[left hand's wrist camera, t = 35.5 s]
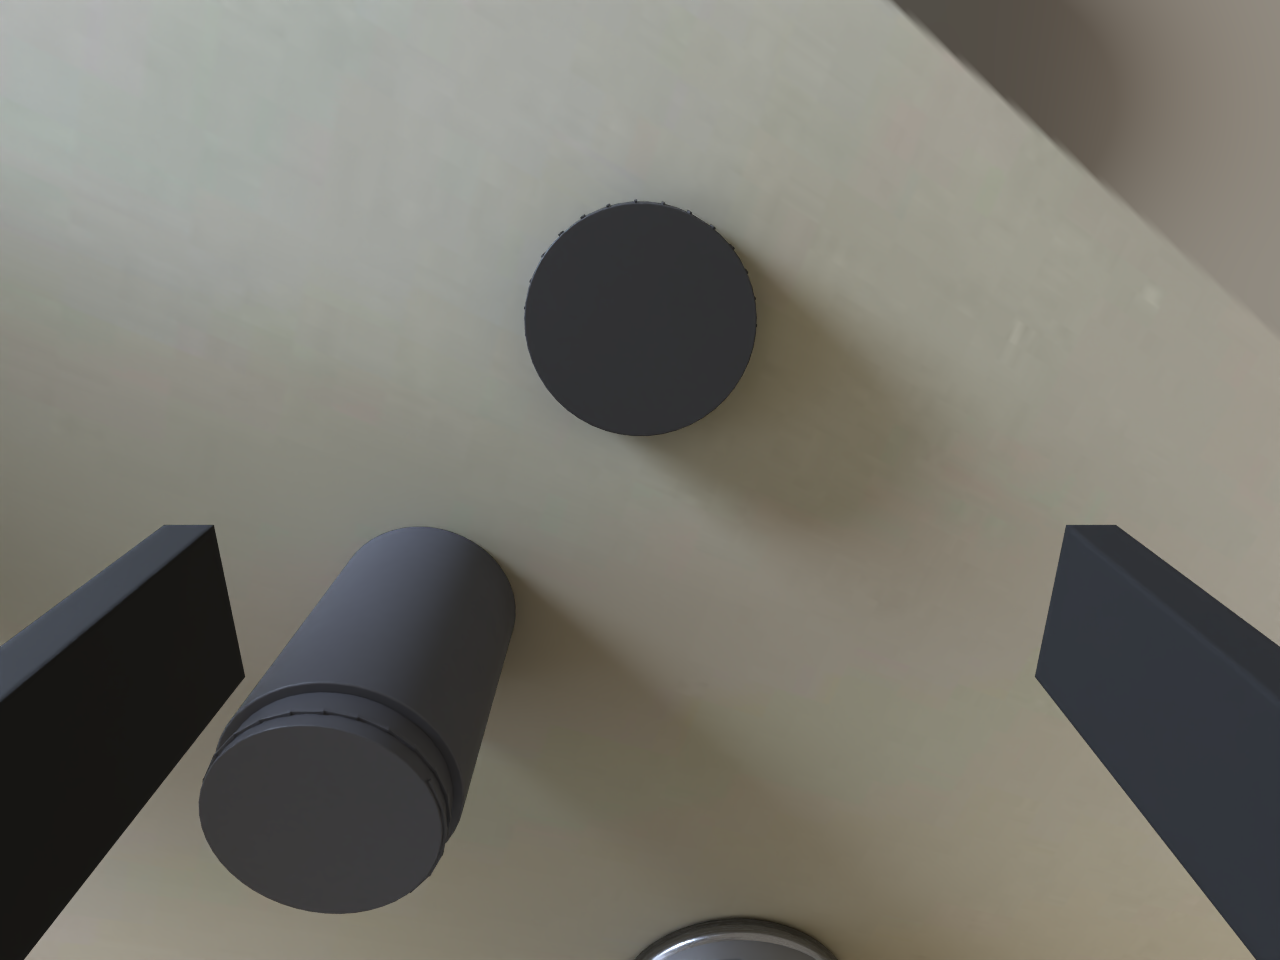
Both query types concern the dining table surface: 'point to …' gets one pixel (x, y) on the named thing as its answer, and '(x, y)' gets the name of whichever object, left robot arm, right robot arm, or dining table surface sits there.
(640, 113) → the dining table surface
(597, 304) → the lid
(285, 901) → the jar
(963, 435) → the dining table surface
